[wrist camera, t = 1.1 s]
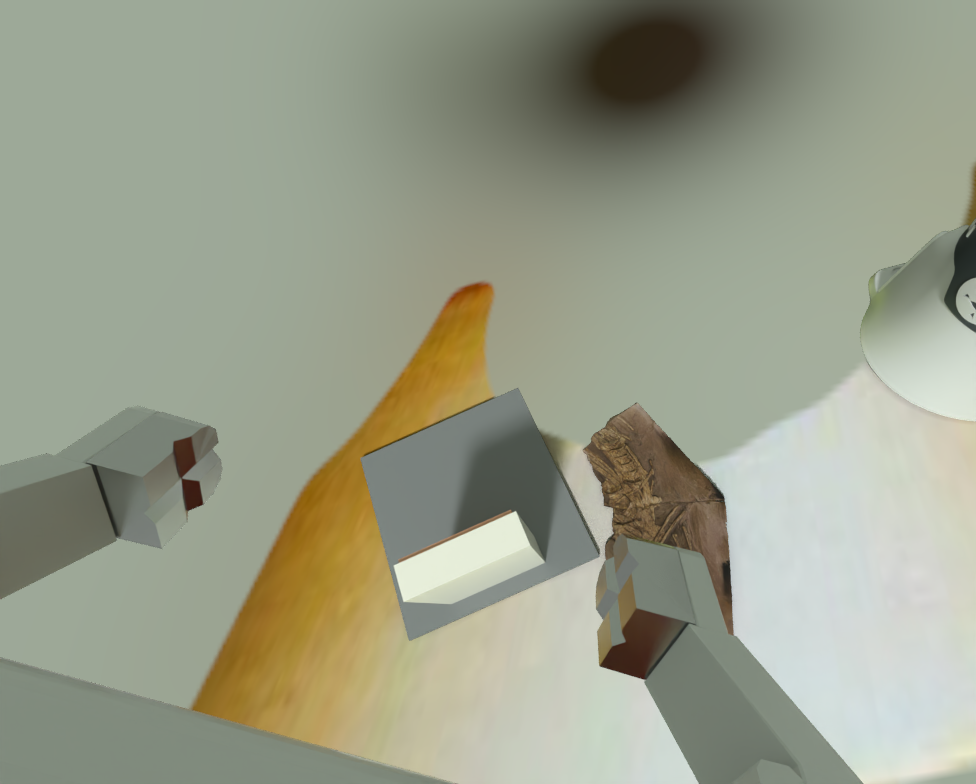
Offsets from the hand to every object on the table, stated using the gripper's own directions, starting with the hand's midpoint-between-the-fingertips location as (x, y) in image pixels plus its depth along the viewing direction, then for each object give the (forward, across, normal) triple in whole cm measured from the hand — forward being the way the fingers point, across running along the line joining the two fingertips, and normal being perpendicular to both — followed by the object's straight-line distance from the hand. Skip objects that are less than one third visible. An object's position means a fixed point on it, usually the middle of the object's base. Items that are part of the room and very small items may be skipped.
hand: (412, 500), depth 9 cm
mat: (+26, -1, +26) cm, 37 cm away
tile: (+21, -5, +28) cm, 35 cm away
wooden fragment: (+24, -19, +22) cm, 37 cm away
